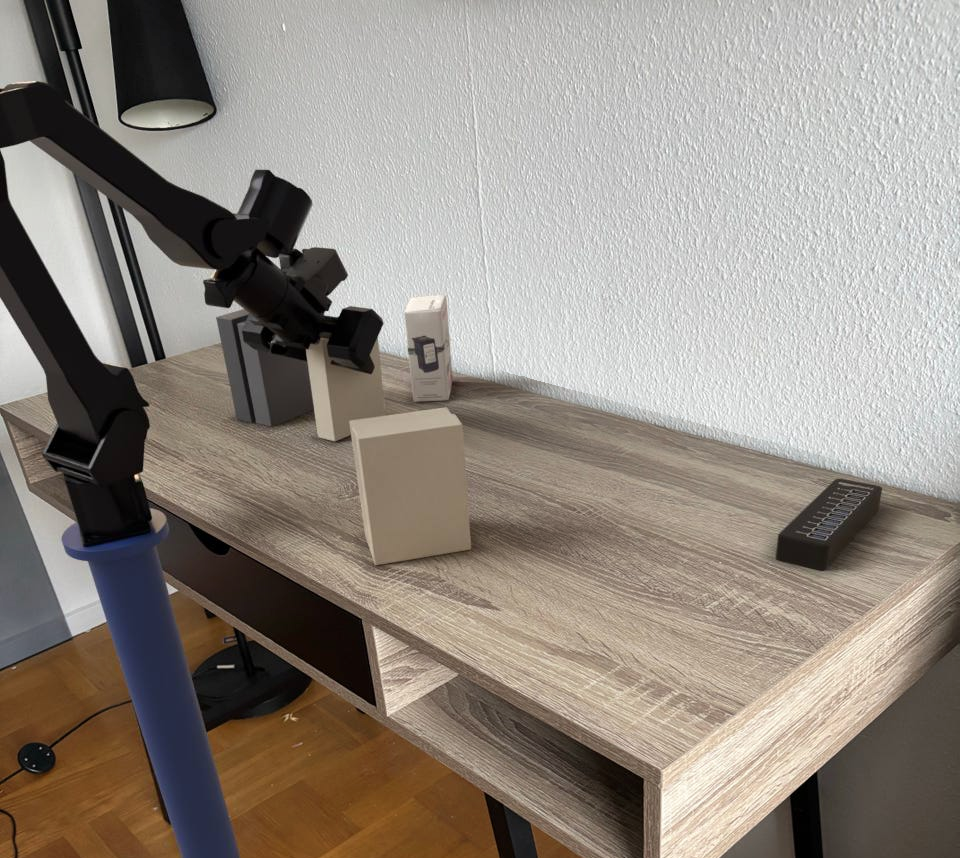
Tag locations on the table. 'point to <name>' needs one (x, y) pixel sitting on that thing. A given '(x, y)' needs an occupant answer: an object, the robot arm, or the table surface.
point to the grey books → (262, 377)
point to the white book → (342, 392)
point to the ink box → (429, 348)
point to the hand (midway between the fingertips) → (353, 367)
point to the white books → (412, 484)
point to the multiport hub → (828, 524)
